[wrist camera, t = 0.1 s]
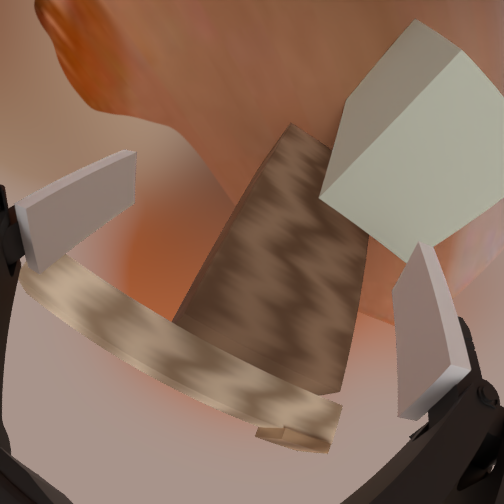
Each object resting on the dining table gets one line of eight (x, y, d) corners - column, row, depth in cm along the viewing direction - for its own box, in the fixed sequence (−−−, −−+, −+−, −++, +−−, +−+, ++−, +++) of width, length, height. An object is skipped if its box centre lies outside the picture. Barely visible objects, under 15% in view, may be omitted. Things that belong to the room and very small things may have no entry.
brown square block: (346, 405, 26) (332, 454, 23) (314, 408, 30) (300, 451, 26) (43, 235, 21) (7, 282, 18) (51, 262, 25) (21, 303, 22)
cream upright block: (473, 73, 24) (547, 162, 12) (401, 144, 35) (406, 263, 23) (414, 18, 22) (461, 49, 10) (346, 99, 33) (318, 198, 21)
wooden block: (373, 182, 41) (339, 391, 23) (332, 219, 48) (279, 401, 31) (290, 122, 38) (184, 313, 21) (257, 169, 46) (160, 342, 29)
